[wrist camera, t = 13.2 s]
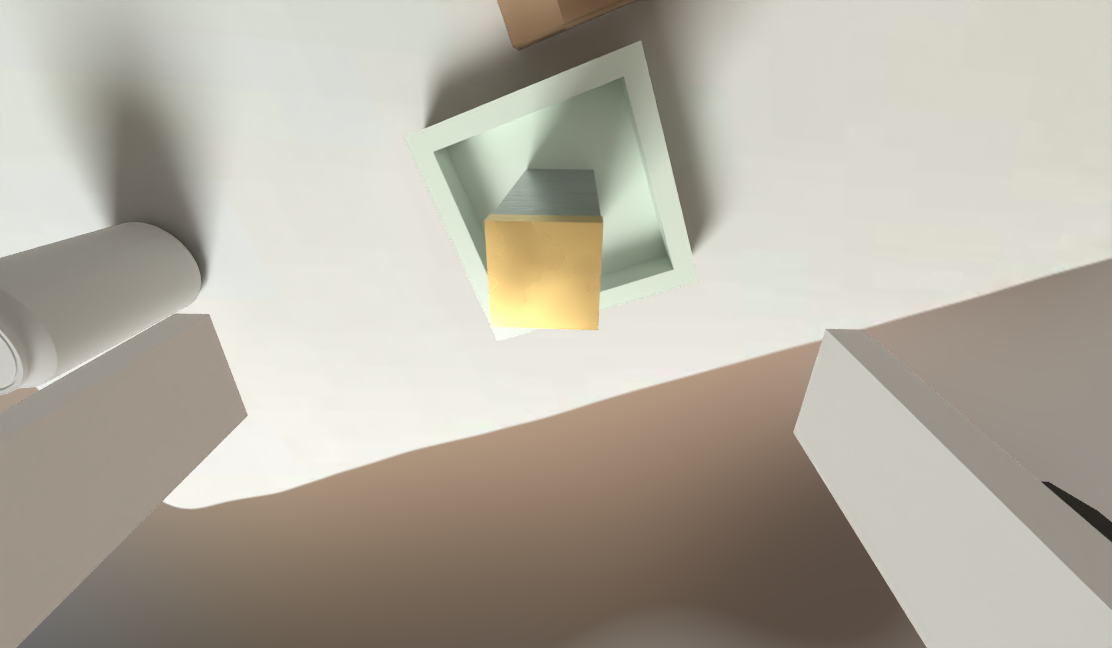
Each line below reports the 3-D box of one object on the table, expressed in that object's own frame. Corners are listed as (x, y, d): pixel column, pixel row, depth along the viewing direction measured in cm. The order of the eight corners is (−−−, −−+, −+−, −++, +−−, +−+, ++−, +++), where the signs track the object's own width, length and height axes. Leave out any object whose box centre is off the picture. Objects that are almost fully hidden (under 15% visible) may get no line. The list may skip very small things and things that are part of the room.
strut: (527, 235, 29) (490, 327, 18) (525, 167, 28) (484, 220, 16) (592, 236, 29) (598, 330, 18) (594, 168, 27) (603, 223, 16)
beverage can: (193, 222, 31) (-13, 289, 20) (219, 308, 34) (50, 408, 23) (101, 215, 31) (-153, 278, 20) (134, 302, 34) (-72, 398, 23)
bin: (423, 132, 28) (402, 137, 25) (633, 47, 25) (641, 40, 22) (505, 317, 33) (497, 341, 30) (686, 262, 30) (698, 281, 27)
